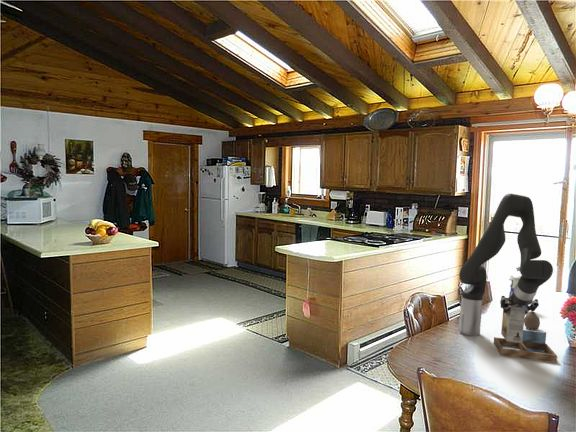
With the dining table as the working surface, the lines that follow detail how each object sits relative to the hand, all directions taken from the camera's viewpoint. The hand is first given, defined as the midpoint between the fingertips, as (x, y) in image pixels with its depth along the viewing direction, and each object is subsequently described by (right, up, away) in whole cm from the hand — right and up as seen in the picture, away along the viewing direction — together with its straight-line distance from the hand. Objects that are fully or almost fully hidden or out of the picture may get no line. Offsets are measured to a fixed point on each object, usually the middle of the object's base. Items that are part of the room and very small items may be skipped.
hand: (514, 312), depth 181 cm
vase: (+26, -16, +32) cm, 45 cm away
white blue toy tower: (+37, -14, +68) cm, 78 cm away
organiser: (+4, -18, +1) cm, 18 cm away
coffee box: (0, -12, +1) cm, 12 cm away
